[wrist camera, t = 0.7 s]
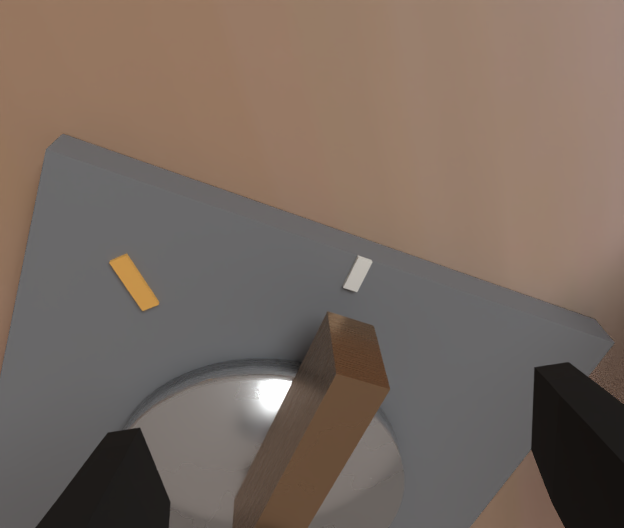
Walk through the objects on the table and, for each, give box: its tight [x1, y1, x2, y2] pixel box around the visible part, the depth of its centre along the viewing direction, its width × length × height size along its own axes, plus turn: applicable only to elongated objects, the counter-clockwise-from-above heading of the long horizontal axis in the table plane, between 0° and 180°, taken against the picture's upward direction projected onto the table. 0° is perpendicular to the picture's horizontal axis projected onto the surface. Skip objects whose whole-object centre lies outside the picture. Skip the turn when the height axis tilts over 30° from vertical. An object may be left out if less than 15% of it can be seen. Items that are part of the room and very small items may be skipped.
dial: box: [123, 311, 404, 528], centre depth 20 cm, size 14×11×5 cm
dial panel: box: [0, 134, 615, 528], centre depth 24 cm, size 20×20×2 cm
